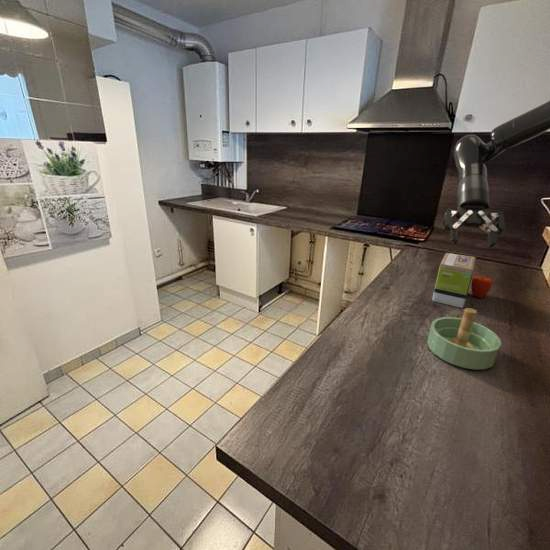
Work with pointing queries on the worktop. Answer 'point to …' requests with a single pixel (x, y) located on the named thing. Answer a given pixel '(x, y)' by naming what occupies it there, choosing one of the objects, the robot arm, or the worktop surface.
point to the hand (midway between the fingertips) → (473, 244)
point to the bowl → (476, 358)
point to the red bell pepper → (480, 286)
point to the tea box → (454, 279)
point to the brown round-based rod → (465, 328)
